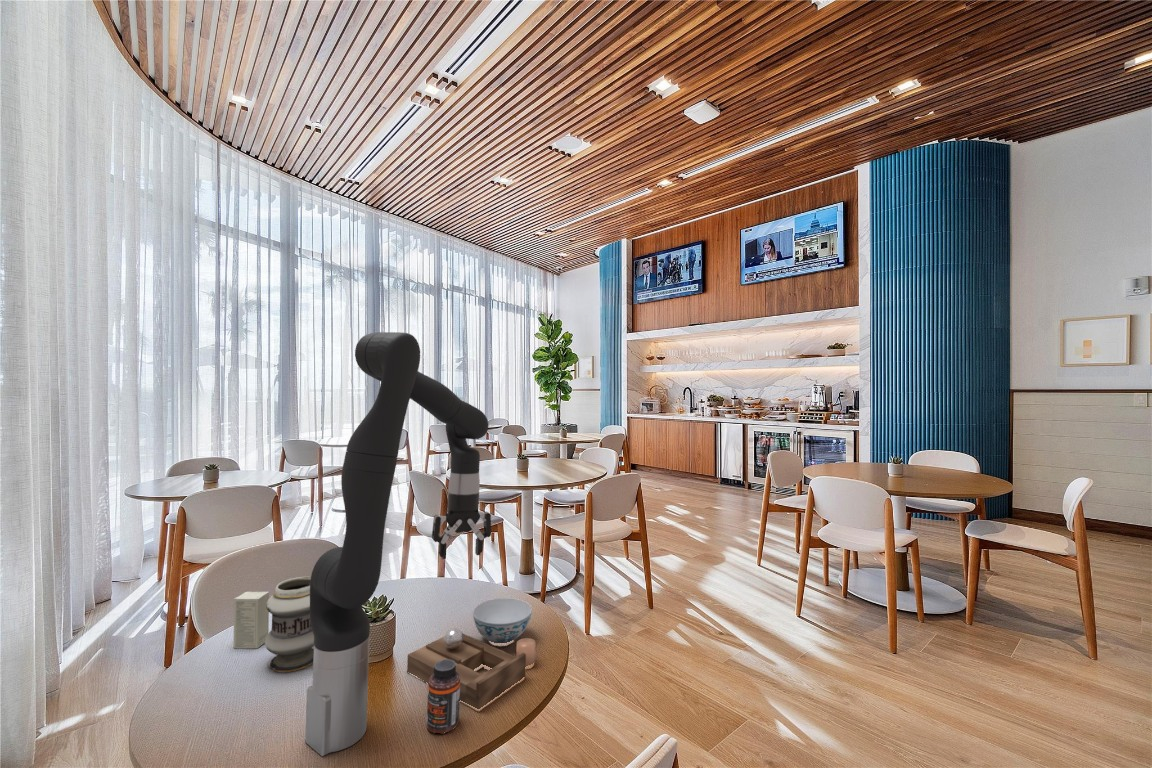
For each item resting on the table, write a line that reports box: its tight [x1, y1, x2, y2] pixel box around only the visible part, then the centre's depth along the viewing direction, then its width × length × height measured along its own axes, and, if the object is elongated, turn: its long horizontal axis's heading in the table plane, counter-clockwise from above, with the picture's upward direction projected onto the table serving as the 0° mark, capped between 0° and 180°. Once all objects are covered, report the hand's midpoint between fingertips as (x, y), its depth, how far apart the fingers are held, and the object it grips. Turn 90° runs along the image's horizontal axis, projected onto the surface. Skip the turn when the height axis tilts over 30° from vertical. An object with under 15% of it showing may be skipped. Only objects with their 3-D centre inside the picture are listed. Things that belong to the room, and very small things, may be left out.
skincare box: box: [233, 591, 270, 650], centre depth 118 cm, size 6×4×12 cm
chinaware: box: [472, 597, 533, 643], centre depth 122 cm, size 15×15×8 cm
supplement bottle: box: [426, 659, 460, 734], centre depth 90 cm, size 6×6×11 cm
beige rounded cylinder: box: [515, 637, 536, 666], centre depth 111 cm, size 4×4×5 cm
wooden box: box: [406, 633, 526, 709], centre depth 106 cm, size 14×23×6 cm, turn 55°
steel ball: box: [443, 627, 464, 649], centre depth 110 cm, size 4×4×4 cm
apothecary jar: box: [264, 576, 314, 673], centre depth 111 cm, size 12×12×18 cm
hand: (460, 556), depth 118 cm, fingers open, 8 cm apart
